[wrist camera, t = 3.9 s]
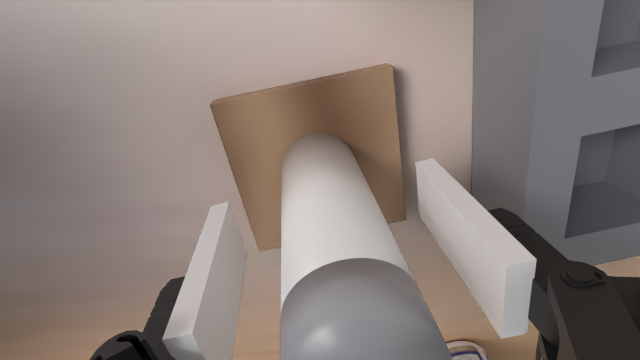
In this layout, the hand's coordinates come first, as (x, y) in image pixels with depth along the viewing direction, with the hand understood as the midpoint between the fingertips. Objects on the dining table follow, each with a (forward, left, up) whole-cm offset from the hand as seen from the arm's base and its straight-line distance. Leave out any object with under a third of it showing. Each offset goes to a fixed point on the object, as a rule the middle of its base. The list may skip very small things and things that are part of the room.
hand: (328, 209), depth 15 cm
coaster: (0, 0, -5) cm, 5 cm away
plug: (0, 0, -4) cm, 4 cm away
